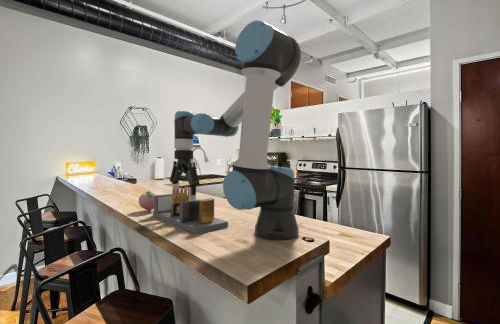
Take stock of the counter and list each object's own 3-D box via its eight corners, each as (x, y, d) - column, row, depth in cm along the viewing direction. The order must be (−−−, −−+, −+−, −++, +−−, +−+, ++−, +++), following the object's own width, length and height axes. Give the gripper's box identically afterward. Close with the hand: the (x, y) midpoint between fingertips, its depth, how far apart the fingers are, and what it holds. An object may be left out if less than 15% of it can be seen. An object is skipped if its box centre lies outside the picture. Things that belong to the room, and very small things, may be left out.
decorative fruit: (135, 210, 123) (135, 189, 123) (152, 208, 129) (152, 188, 129) (143, 214, 116) (143, 192, 116) (160, 211, 122) (161, 190, 122)
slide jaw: (223, 219, 100) (223, 198, 100) (190, 225, 90) (191, 202, 90) (210, 215, 106) (210, 195, 106) (179, 220, 97) (179, 199, 96)
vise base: (228, 226, 98) (228, 203, 98) (195, 234, 88) (195, 207, 88) (181, 211, 123) (182, 192, 123) (152, 215, 114) (152, 195, 114)
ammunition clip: (172, 216, 104) (172, 186, 104) (170, 216, 105) (170, 186, 105) (195, 213, 111) (196, 185, 111) (193, 212, 113) (193, 184, 112)
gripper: (208, 149, 101) (208, 204, 102) (177, 150, 119) (177, 196, 120) (191, 149, 96) (191, 206, 96) (161, 149, 114) (161, 198, 115)
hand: (183, 201), depth 108 cm, fingers open, 13 cm apart
